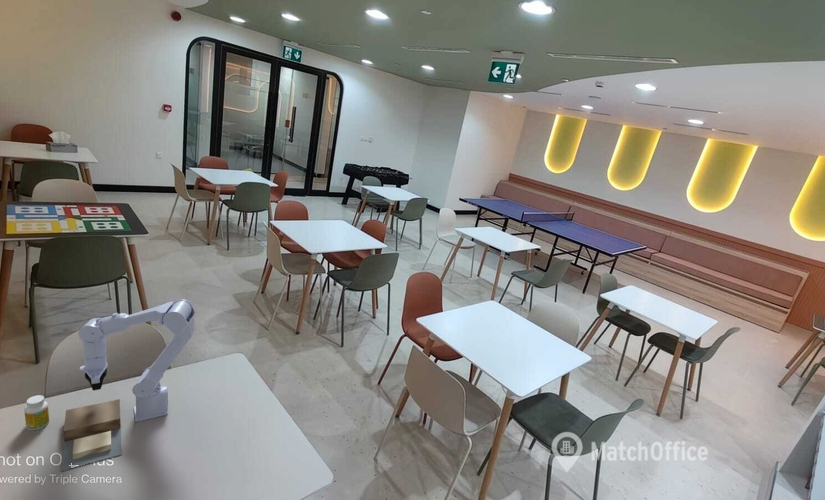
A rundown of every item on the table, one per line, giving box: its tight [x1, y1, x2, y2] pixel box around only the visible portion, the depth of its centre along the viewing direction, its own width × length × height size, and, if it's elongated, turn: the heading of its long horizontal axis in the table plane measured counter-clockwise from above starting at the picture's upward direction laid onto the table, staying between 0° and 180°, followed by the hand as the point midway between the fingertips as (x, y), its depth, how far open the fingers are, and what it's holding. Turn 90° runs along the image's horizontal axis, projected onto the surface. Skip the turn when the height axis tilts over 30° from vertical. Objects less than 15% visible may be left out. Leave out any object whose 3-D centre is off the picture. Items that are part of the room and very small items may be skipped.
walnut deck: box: [63, 398, 122, 443], centre depth 129 cm, size 14×10×4 cm
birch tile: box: [73, 431, 111, 459], centre depth 121 cm, size 9×6×2 cm, turn 126°
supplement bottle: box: [23, 394, 50, 431], centre depth 124 cm, size 5×5×10 cm
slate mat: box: [60, 428, 122, 473], centre depth 121 cm, size 14×12×1 cm
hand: (96, 388), depth 132 cm, fingers closed
